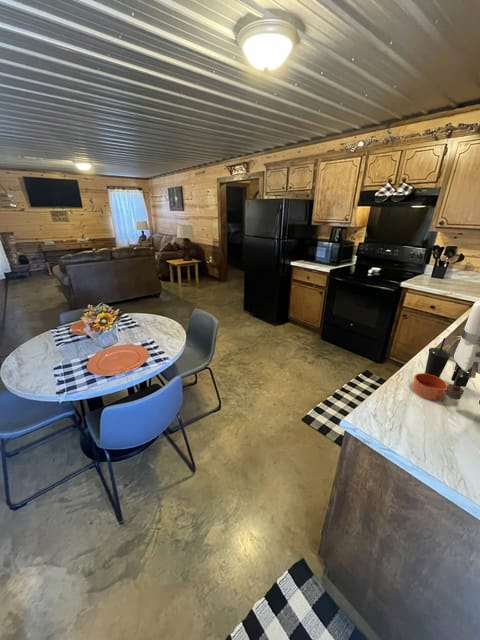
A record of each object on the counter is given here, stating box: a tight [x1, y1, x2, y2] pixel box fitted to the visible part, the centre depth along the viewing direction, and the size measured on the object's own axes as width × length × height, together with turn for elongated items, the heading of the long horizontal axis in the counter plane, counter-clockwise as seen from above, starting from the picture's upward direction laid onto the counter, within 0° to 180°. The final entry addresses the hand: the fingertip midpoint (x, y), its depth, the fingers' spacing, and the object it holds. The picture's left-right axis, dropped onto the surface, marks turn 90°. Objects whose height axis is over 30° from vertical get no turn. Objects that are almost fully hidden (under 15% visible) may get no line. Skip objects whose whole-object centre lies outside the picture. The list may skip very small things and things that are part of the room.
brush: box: [445, 369, 468, 401], centre depth 93 cm, size 5×5×11 cm
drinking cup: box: [424, 337, 452, 378], centre depth 109 cm, size 8×8×20 cm
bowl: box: [411, 372, 449, 402], centre depth 105 cm, size 11×11×5 cm
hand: (458, 383), depth 93 cm, fingers closed on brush
